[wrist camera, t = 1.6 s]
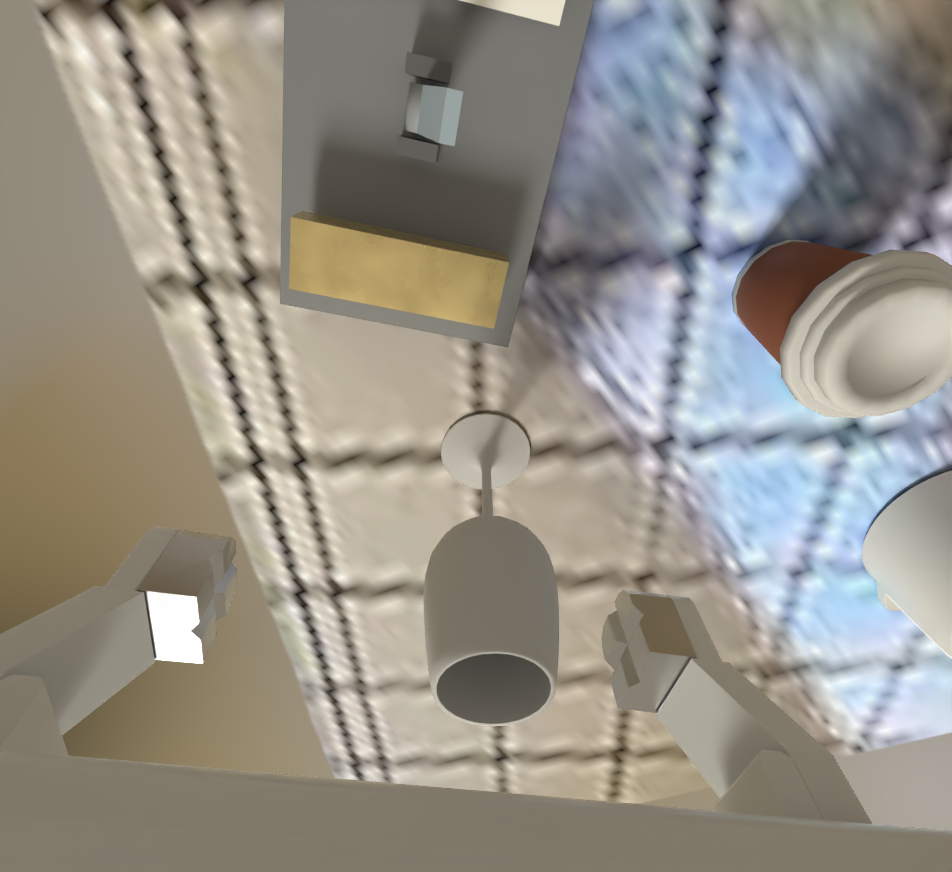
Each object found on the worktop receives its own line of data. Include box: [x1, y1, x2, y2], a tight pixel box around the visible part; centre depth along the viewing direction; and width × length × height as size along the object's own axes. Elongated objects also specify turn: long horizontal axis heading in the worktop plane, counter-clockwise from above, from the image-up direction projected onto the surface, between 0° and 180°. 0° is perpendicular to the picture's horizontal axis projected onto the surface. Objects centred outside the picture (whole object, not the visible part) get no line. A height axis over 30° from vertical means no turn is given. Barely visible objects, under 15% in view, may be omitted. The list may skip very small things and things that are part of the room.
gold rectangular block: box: [289, 211, 509, 329], centre depth 29 cm, size 11×4×2 cm, turn 79°
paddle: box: [404, 82, 463, 146], centre depth 24 cm, size 2×2×6 cm
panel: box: [280, 0, 594, 347], centre depth 28 cm, size 14×23×7 cm, turn 168°
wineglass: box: [424, 413, 559, 726], centre depth 34 cm, size 8×8×21 cm
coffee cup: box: [732, 239, 952, 418], centre depth 31 cm, size 9×9×12 cm
